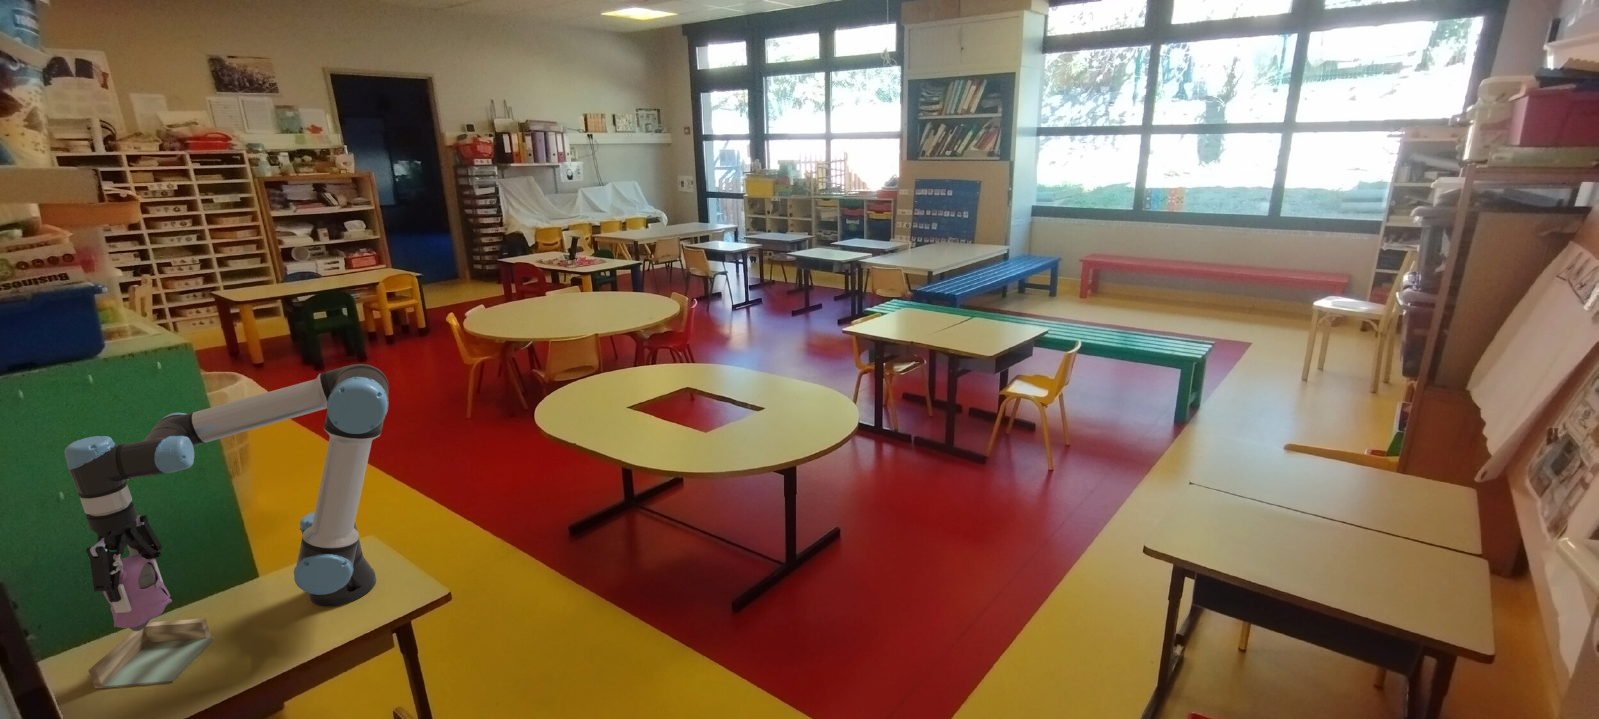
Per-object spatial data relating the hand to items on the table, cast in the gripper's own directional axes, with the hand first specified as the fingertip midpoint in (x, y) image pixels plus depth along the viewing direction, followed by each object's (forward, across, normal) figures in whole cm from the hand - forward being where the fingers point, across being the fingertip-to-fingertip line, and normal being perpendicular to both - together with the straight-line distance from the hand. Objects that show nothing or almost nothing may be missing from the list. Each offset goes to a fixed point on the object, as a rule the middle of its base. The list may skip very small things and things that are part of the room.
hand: (140, 597), depth 160 cm
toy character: (+7, 0, 0) cm, 7 cm away
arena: (+18, -2, -2) cm, 18 cm away
